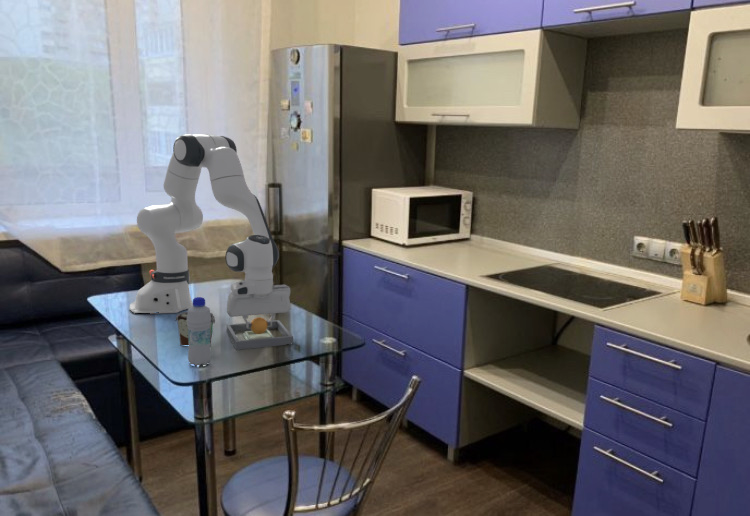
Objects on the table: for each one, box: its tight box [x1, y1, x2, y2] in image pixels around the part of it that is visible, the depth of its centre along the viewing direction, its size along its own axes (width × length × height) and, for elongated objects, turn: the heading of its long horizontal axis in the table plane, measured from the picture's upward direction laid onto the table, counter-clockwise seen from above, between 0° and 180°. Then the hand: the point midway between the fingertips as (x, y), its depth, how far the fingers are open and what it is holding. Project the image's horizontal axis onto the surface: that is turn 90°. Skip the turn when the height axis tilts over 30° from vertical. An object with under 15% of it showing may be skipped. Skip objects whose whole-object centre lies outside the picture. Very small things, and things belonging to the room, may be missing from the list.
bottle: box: [187, 296, 212, 366], centre depth 166 cm, size 7×7×20 cm
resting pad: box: [242, 329, 274, 340], centre depth 193 cm, size 9×9×1 cm
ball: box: [250, 316, 268, 334], centre depth 192 cm, size 6×6×6 cm
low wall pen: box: [225, 319, 294, 351], centre depth 192 cm, size 18×18×2 cm
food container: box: [175, 310, 216, 348], centre depth 184 cm, size 12×6×10 cm, turn 84°
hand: (258, 327), depth 192 cm, fingers closed on ball, 5 cm apart
